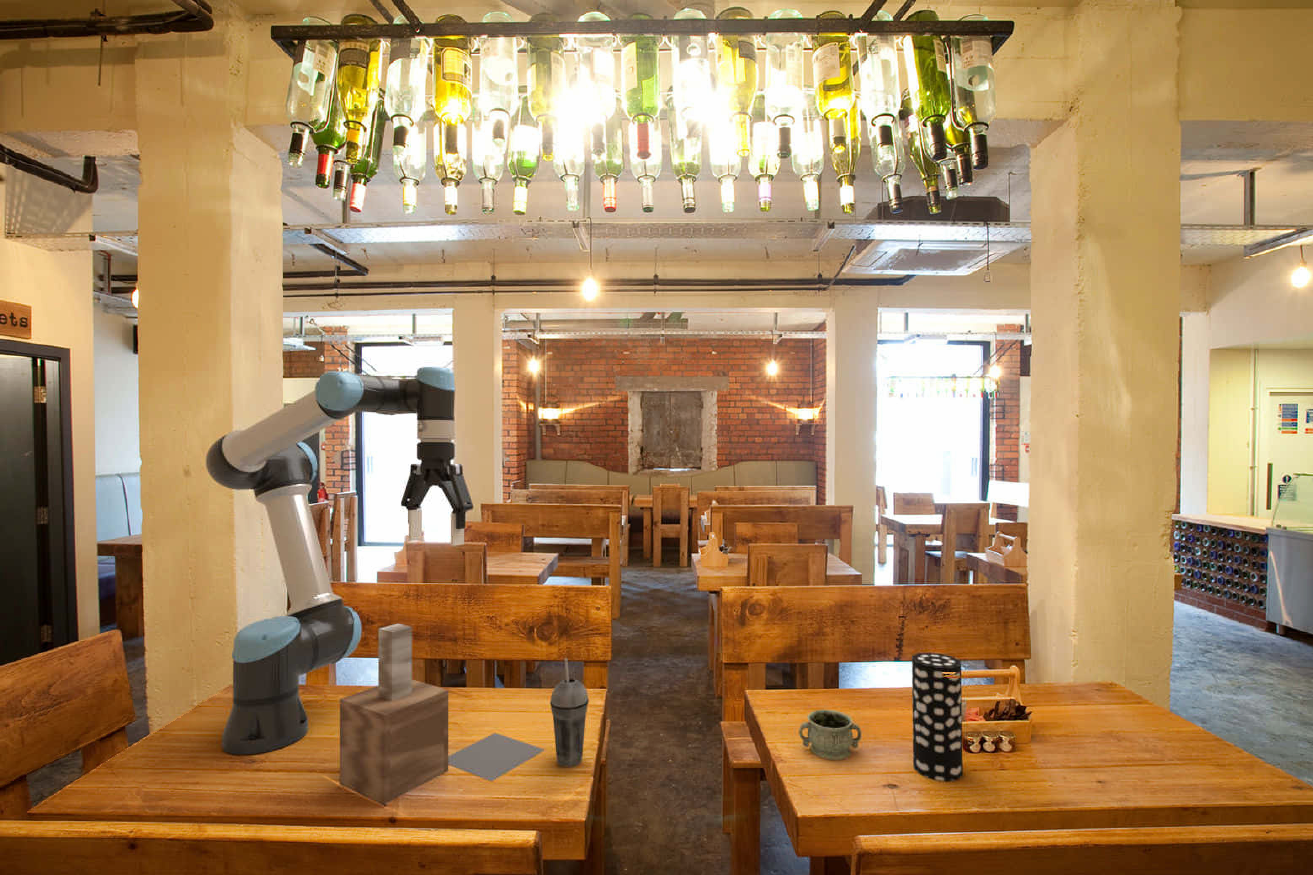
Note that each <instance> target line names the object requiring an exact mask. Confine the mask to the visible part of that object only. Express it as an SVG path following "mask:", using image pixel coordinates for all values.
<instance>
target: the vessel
mask: <svg viewBox="0 0 1313 875" xmlns="http://www.w3.org/2000/svg"><path fill="white" fill-rule="evenodd" d="M807 720H808V721H806V722H802V723H801V725H800V727H799V729H798V735H799V738H800V739H802V745H803V746H804V747H806V748H809V745H810V744H811V745H810V750H811V752H812V753H813V754H814V755H816V756H817V757H820V758H822V759H825V760H831V761H832V760H833V761H837V760H838V761H840V760H845V759H847V758H849V756H851V749H850V747H851V748H853V749H857V748H858V747H859V742H860V740H861V739H862V730H861V727H860V726H859V724H857V723H853V719H852V717H851V716H849V714H847V713H844V712H841V711H838V710H833V709H818V710H814V711H811V712H810V713H809V714H808V715H807ZM804 729H807V736H806V737H805V735H803V730H804ZM852 730H854V731H855V730H856V731H857V736H856V737H855V738H854V735H853V731H852Z"/></svg>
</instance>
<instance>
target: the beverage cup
mask: <svg viewBox="0 0 1313 875" xmlns="http://www.w3.org/2000/svg"><path fill="white" fill-rule="evenodd" d="M564 670H565V679H562V680H561V681H560V682H558V683H557V684H556V685H555V687H554V689H553V690H552V693H551V698H550V702H549V704H550V710H551V714H552V719H553V731H554V743H555V745H554V746H555V755H556V760H557V764H558V765H559V766H560V767H564V768H572V767H576V766H578V765H580V764H581V763H582V761H583V754H584V741H585V730H586V728H585V727H586V717H587V716H586V715H587V712H588V711H587V710H588V705H589V701H590V700H589V694H588V691H587V689H586V687H585V686H584V684H583V683H582V682H581V681H579V680H577V679H574V678H570V677H569V676H570V675H569V663H568V658H567V657H565V658H564Z"/></svg>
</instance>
